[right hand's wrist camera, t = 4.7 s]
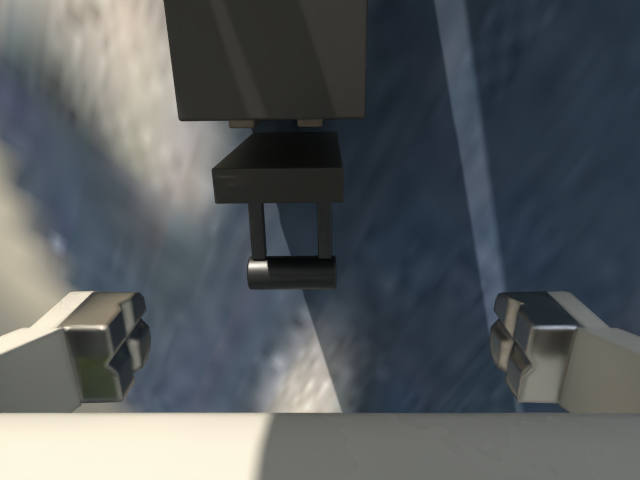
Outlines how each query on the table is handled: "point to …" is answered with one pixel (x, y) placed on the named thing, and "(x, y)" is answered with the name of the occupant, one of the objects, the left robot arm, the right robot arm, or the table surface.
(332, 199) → the drawer
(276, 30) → the dark rectangular case
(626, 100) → the table surface
